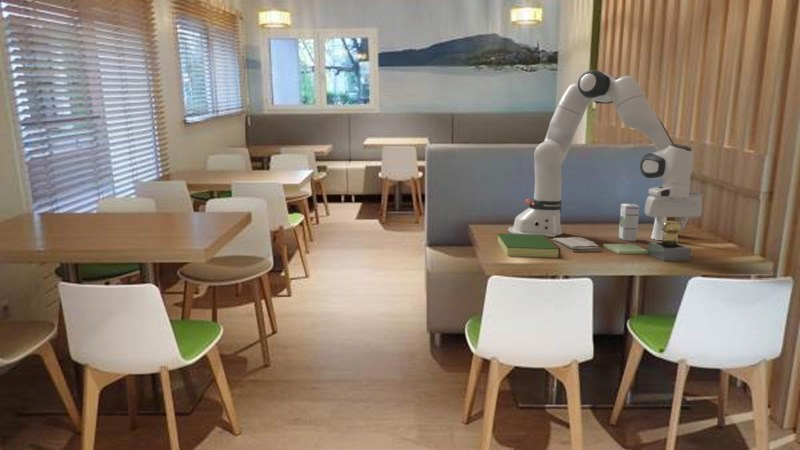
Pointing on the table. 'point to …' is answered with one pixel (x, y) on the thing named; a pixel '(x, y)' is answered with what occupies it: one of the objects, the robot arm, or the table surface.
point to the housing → (669, 252)
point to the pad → (626, 248)
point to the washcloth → (577, 244)
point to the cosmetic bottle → (657, 230)
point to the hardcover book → (528, 245)
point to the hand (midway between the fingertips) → (671, 229)
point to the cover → (671, 232)
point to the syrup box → (628, 222)
